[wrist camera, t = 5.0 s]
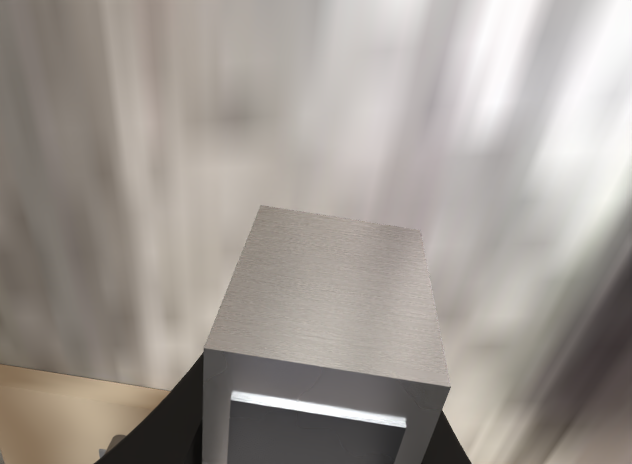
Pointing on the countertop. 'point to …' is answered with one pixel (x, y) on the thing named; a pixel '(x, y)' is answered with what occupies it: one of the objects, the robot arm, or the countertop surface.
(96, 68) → the countertop surface
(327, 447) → the grey box
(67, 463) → the beige peg board
